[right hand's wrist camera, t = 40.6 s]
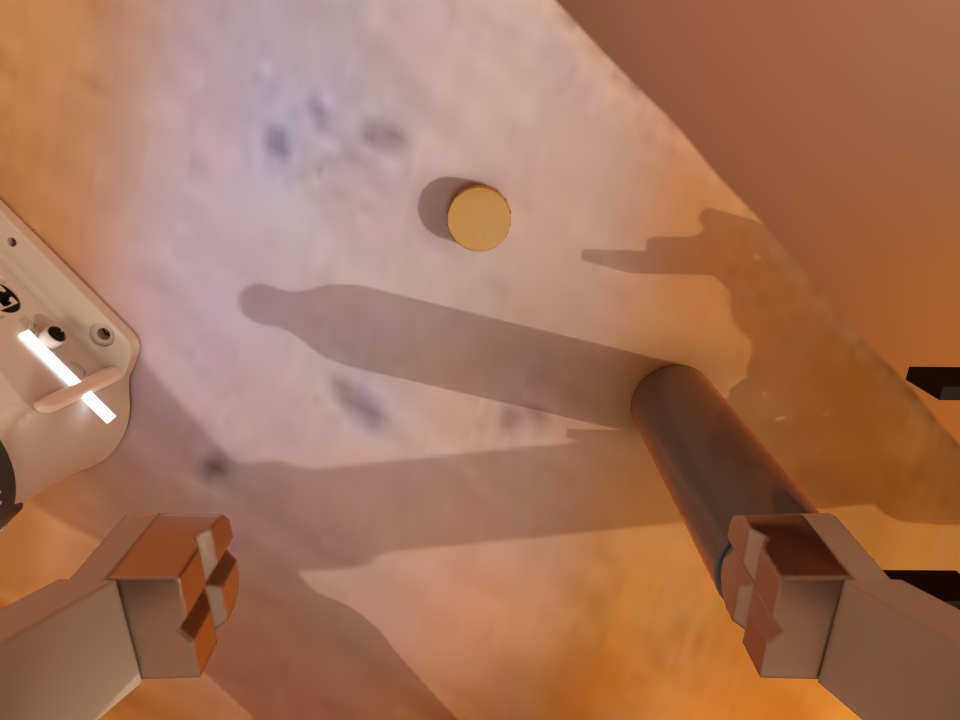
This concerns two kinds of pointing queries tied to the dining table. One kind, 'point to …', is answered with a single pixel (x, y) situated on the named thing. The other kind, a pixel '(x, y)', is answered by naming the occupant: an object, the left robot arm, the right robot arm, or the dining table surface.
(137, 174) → the dining table surface
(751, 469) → the bottle
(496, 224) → the cap
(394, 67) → the dining table surface
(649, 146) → the dining table surface
